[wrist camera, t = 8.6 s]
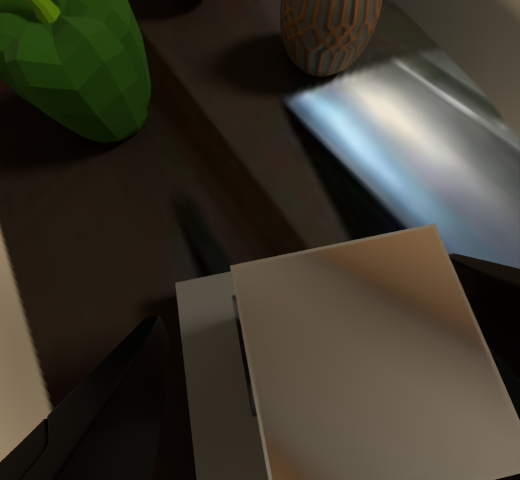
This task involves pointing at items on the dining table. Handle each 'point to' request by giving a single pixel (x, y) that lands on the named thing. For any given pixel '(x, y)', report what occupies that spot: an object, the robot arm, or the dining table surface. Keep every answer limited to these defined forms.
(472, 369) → the wooden square peg
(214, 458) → the block with square hole
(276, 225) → the dining table surface
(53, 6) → the bell pepper
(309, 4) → the vase
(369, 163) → the dining table surface
